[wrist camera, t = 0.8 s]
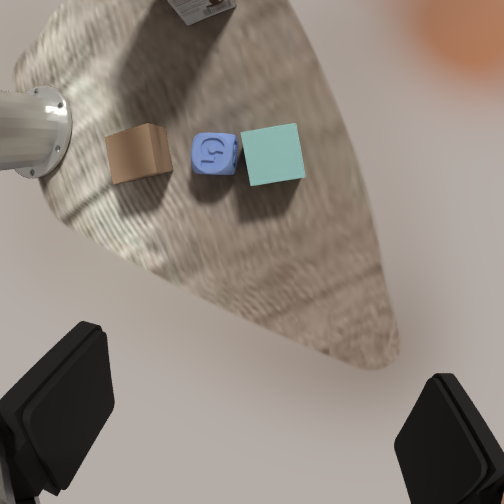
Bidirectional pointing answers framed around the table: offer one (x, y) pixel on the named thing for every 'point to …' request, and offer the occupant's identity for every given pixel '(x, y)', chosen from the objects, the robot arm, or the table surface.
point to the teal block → (273, 154)
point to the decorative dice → (214, 153)
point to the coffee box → (199, 8)
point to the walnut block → (138, 153)
